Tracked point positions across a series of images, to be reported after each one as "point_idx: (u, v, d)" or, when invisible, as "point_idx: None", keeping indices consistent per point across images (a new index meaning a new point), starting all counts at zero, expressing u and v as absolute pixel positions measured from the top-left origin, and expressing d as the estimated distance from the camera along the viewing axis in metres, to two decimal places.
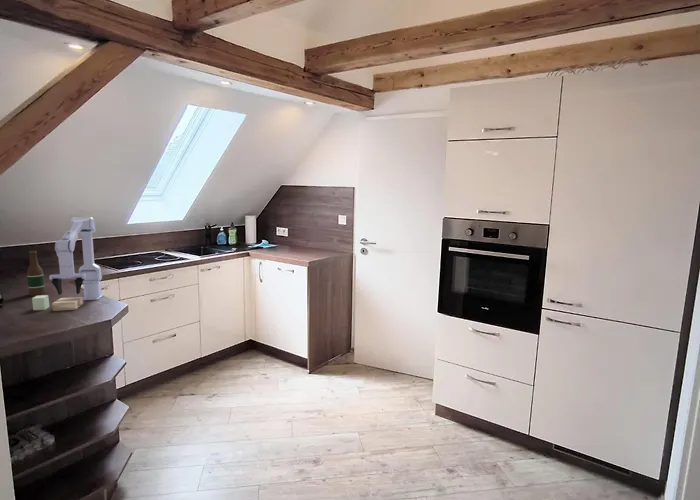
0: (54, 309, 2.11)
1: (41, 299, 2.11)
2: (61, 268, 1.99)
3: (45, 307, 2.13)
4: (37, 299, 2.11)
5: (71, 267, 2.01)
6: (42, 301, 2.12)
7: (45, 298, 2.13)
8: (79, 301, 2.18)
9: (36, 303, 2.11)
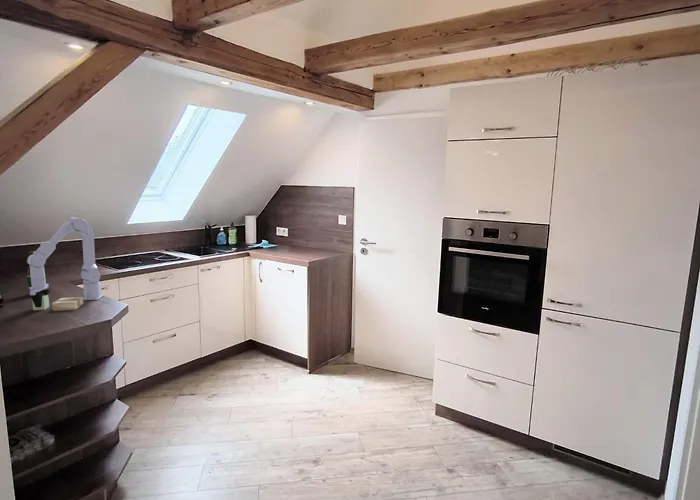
0: (54, 309, 2.11)
1: None
2: None
3: (45, 307, 2.13)
4: None
5: (32, 281, 2.09)
6: (42, 301, 2.12)
7: (45, 298, 2.13)
8: (79, 301, 2.18)
9: None
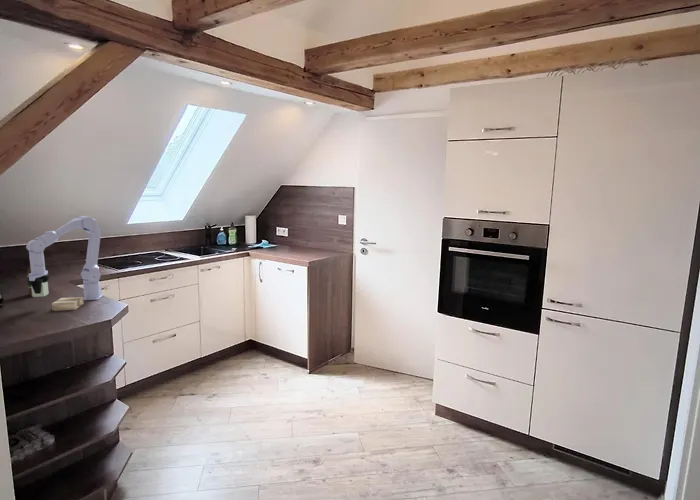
0: (54, 309, 2.11)
1: None
2: None
3: (44, 294, 2.12)
4: None
5: (32, 267, 2.08)
6: (41, 287, 2.11)
7: (44, 285, 2.12)
8: (79, 301, 2.18)
9: None
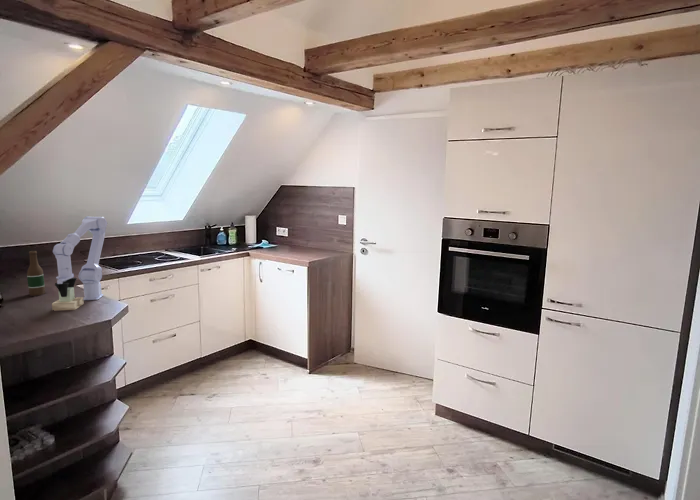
0: (54, 309, 2.11)
1: (67, 291, 2.13)
2: None
3: (71, 299, 2.15)
4: None
5: (59, 270, 2.11)
6: (68, 293, 2.13)
7: (71, 290, 2.15)
8: (79, 301, 2.18)
9: None
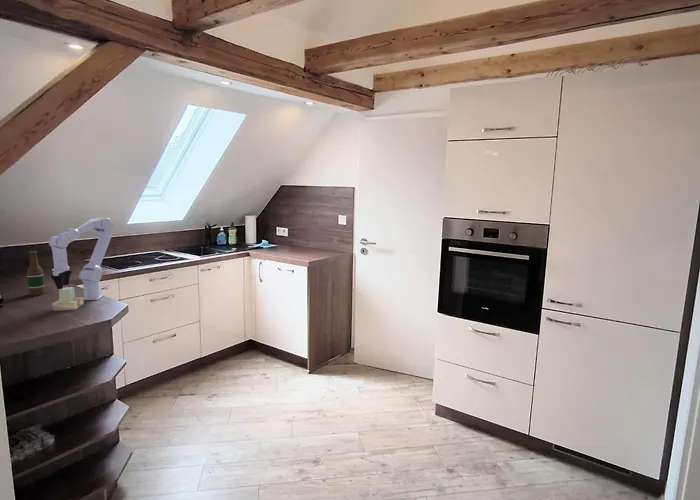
0: (54, 309, 2.11)
1: (68, 291, 2.13)
2: None
3: (71, 299, 2.15)
4: (64, 291, 2.13)
5: (55, 262, 2.12)
6: (69, 293, 2.14)
7: (71, 290, 2.15)
8: (79, 301, 2.18)
9: (63, 295, 2.13)
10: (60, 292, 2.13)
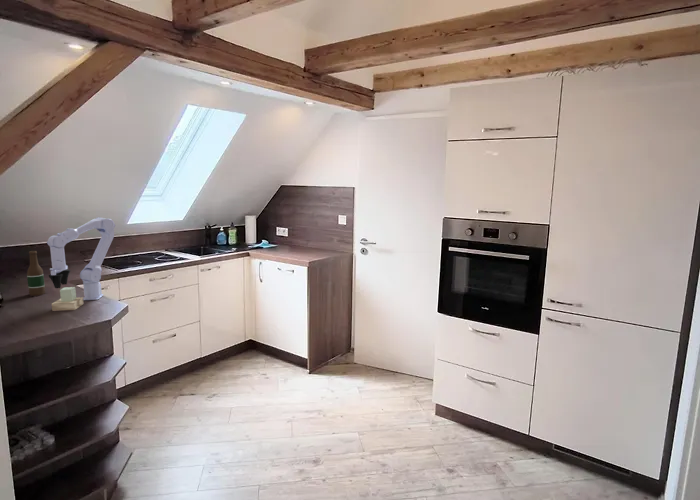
0: (53, 309, 2.11)
1: (69, 291, 2.13)
2: None
3: (72, 299, 2.15)
4: (65, 291, 2.13)
5: (53, 262, 2.13)
6: (70, 293, 2.14)
7: (72, 290, 2.15)
8: (79, 301, 2.17)
9: (64, 295, 2.13)
10: (61, 292, 2.13)
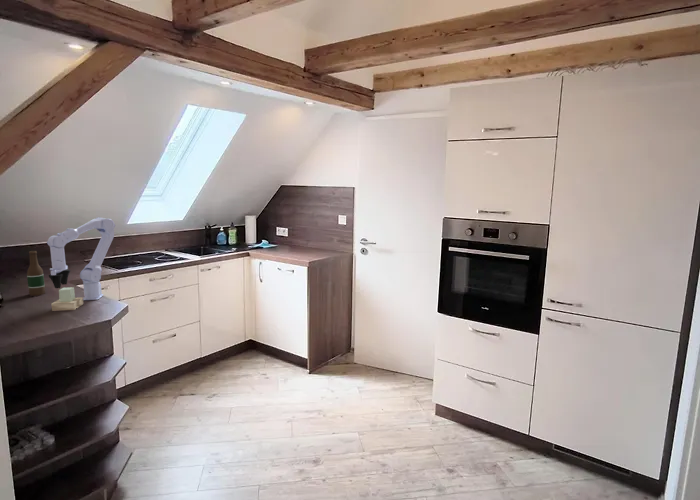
0: (53, 309, 2.11)
1: (68, 291, 2.13)
2: None
3: (71, 299, 2.15)
4: (64, 291, 2.13)
5: (53, 262, 2.13)
6: (69, 293, 2.13)
7: (71, 290, 2.15)
8: (78, 301, 2.17)
9: (63, 295, 2.13)
10: (60, 292, 2.12)
